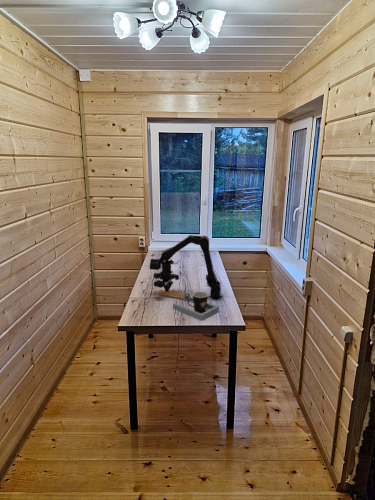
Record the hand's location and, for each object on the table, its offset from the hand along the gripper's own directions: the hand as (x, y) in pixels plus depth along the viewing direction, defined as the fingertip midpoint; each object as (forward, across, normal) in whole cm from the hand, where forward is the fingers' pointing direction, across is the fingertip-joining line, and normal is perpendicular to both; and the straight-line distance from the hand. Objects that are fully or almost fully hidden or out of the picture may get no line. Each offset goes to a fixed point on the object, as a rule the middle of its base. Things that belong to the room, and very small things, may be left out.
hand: (166, 292), depth 205 cm
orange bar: (0, +1, +6) cm, 6 cm away
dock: (+1, +6, +25) cm, 25 cm away
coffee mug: (+2, +7, +29) cm, 29 cm away
